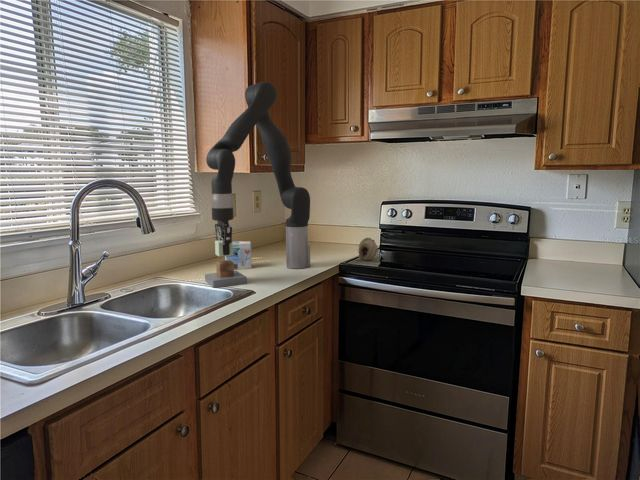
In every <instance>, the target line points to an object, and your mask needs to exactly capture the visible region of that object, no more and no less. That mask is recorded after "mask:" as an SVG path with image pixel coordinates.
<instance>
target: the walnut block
mask: <svg viewBox="0 0 640 480" xmlns="http://www.w3.org/2000/svg"><path fill="white" fill-rule="evenodd" d="M215 265H216V266H215V268H216V271H215V273H217V275H218V276H219V277H220V278H221V277H230V276H234V271H235V269H234V262H232V261H230V260H225V259H224V260H217V261H215Z"/></svg>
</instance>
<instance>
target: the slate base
mask: <svg viewBox="0 0 640 480" xmlns="http://www.w3.org/2000/svg"><path fill="white" fill-rule="evenodd" d="M247 279H248V278H247V276H246V275H244V274H243V273H242V272H240V271H238V270H234V276H230V277H221V278H220V277H219V276H218V275H217V272H210V273H204V282H206V283H207V284H208V285H209V286H211V287H212V288H214V289H215V288H216V289H217V288H223V287H230V286H232V287H233V286H238V285H247V283H248V282H247Z"/></svg>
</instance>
